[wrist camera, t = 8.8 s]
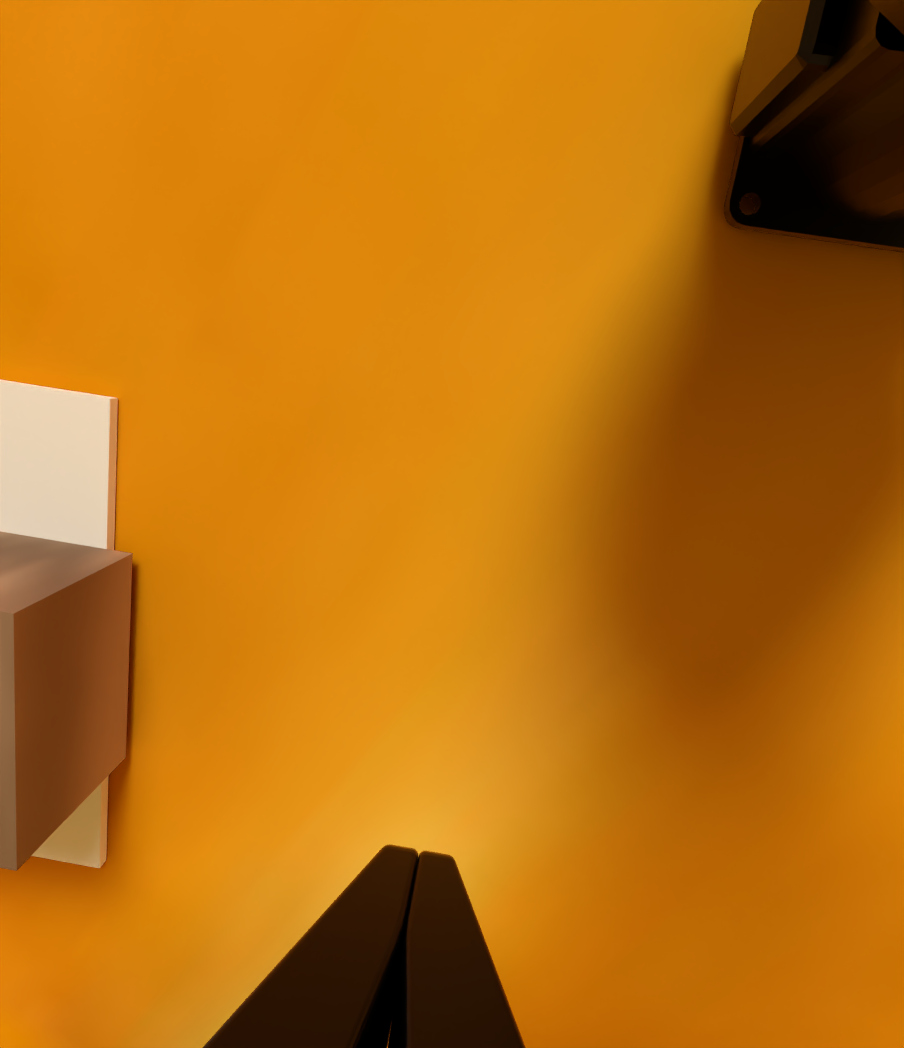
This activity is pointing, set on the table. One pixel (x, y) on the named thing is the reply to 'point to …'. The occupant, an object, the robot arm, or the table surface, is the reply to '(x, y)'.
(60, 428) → the mat
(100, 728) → the walnut block
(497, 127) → the table surface
